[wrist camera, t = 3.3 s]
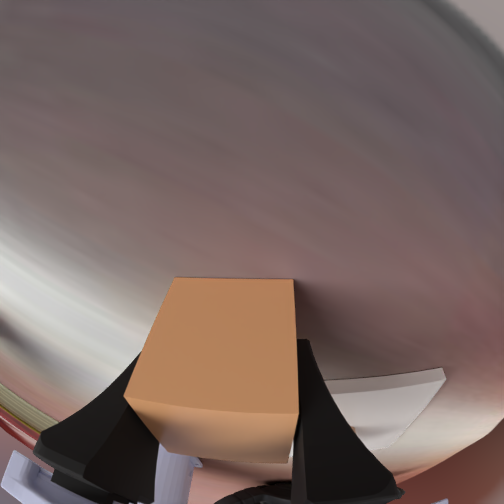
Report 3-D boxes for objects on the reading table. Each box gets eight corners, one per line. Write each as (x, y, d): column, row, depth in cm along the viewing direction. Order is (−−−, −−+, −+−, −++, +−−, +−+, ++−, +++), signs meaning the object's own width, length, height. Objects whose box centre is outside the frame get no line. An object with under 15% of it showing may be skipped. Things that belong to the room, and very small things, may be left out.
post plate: (387, 438, 21) (392, 473, 18) (262, 447, 22) (259, 484, 19) (441, 367, 15) (459, 416, 11) (260, 380, 16) (255, 441, 12)
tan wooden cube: (288, 355, 14) (287, 463, 9) (194, 351, 15) (167, 452, 10) (293, 279, 12) (298, 413, 7) (174, 277, 12) (123, 395, 7)
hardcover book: (70, 439, 35) (63, 457, 31) (-18, 379, 31) (-27, 395, 27) (64, 421, 29) (54, 444, 25) (-37, 348, 25) (-48, 366, 21)
